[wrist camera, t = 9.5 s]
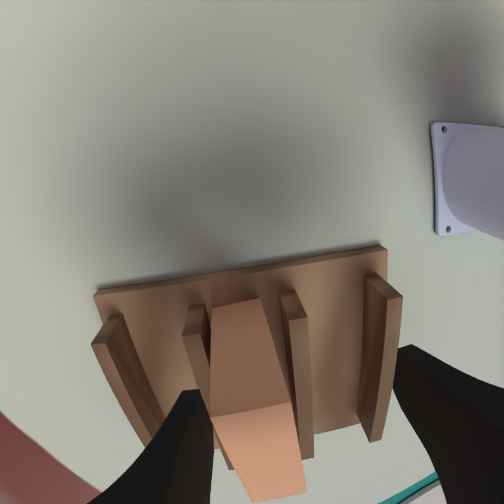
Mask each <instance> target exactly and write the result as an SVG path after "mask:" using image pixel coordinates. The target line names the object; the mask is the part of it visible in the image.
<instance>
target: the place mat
mask: <svg viewBox="0 0 504 504" xmlns="http://www.w3.org/2000/svg"><path fill="white" fill-rule="evenodd" d="M379 504H447V503H446V499H445V496H444V493H443V490H442V487H441V484H440V481H439V478H438V476H437V473H436V471H435V472H434V473H432V474H431V475H429V476H427V477H426V478H424V479H423V480H421V481H419V482H418V483H416V484H414V485H412V486H411V487H409V488H407V489H405V490H404V491H402V492H400V493H398V494H396V495H394V496H392V497H391V498H389V499H387V500H385V501H383V502H381V503H379Z"/></svg>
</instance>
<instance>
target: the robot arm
mask: <svg viewBox="0 0 504 504" xmlns="http://www.w3.org/2000/svg"><path fill="white" fill-rule="evenodd" d="M442 127H443V129H444V132H442ZM431 136H432V146H433V158H434V173H435V198H436V234H437V235H438V236H440V237H445V236H450V235H456V234H461V233H466V232H471V231H476V230H480V231H482V232H485V233H487V234H489V235H492V236H494V237H497V238H499V239H501V240H504V128H501V127H493V126H483V125H473V124H460V123H444V122H435V123H433V124H432V125H431ZM447 226H448V230H447V231H446V228H447ZM392 388H393V390H394V393H395V395H396V398H397V400H398V402H399V404H400V407H401V409H402V411H403V412H404V414H405V416H406V417H407V419H408V421H409V422H410V424H411V426H412V427H413V429H414V431H415V432H416V434H417V435H418V437H419V439H420V440H421V442H422V444H423V445H424V447H425V449H426V451H427V453H428V455H429V456H430V459H431V461H432V463H433V466H434V468H435V471H436V473H437V476H438V478H439V481H440V484H441V487H442V490H443V493H444V496H445V499H446V503H447V504H504V388H501V387H498V386H495V385H492V384H489V383H486V382H484V381H481V380H479V379H477V378H474V377H472V376H470V375H468V374H466V373H464V372H462V371H460V370H458V369H456V368H454V367H452V366H450V365H448V364H446V363H445V362H443V361H441V360H439V359H437V358H436V357H434V356H432V355H430V354H429V353H427V352H425V351H423V350H422V349H420V348H418V347H416V346H414V345H412V344H410V345H407V346H404V347H401V348H398V350H397V358H396V366H395V374H394V381H393V387H392ZM213 457H214V434H213V424H212V421H211V419H210V416H209V413H208V411H207V408H206V406H205V403H204V400H203V398H202V395H201V392H200V390H199V389H192V390H183V391H182V392H181V393H180V395H179V397H178V398H177V400H176V402H175V404H174V405H173V407H172V409H171V410H170V412H169V414H168V415H167V417H166V419H165V420H164V422H163V423H162V425H161V426H160V428H159V429H158V431H157V433H156V434H155V436H154V437H153V438H152V440H151V441H150V442H149V444H148V445H147V446H146V448H145V449H144V450H143V452H142V453H141V454H140V456H139V457H138V458H137V459H136V460H135V461H134V463H133V464H132V465H131V466H130V467H129V468H128V469H127V470H126V471H125V472H124V473H123V474H122V475H121V476H120V477H119V478H118V479H117V480H116V481H115V482H114V483H113V484H112V485H111V486H110V487H108V488H107V489H106V490H105V491H104V492H102V493H101V494H100V495H98V496H97V497H96V498H94V499H93V500H92V501H90V502H89V503H87V504H210V492H211V480H212V469H213Z"/></svg>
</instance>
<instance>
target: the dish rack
mask: <svg viewBox="0 0 504 504" xmlns="http://www.w3.org/2000/svg"><path fill="white" fill-rule="evenodd" d="M93 297H94V300H95V303H96V306H97V309H98V311H99V314H100V317H101V320H102V322H103V326H102V328H101V329H100V331H99V332H98V334H97V335H96V337H95V338H94V340H93V341H92V343H91V346H92V348H93V351H94V353H95V355H96V357H97V360H98V362H99V364H100V366H101V368H102V370H103V372H104V375H105V377H106V379H107V381H108V383H109V385H110V387H111V389H112V391H113V393H114V394H115V396H116V398H117V400H118V402H119V404H120V406H121V408H122V409H123V411H124V413H125V415H126V417H127V418H128V420H129V422H130V424H131V425H132V427H133V429H134V430H135V432H136V434H137V435H138V437H139V439H140V440H141V442H142V444H143V445H144V447H145V448H146V446H147V445H148V444H149V442H150V441H151V440H152V438H153V437H154V436H155V434H156V433H157V431H158V429H159V428H160V426H161V425H162V423H163V422H164V420H165V419H166V417H167V415H168V414H169V412H170V410H171V409H172V407H173V405H174V404H175V402H176V400H177V398H178V397H179V395H180V393H181V392H182V391H183V390H192V389H199V390H200V392H201V395H202V398H203V400H204V403H205V406H206V408H207V411H208V413H209V416H210V356H211V317H212V308H215V307H220V306H225V305H229V304H234V303H239V302H243V301H248V300H252V299H257V298H260V299H261V302H262V305H263V309H264V312H265V316H266V319H267V322H268V326H269V329H270V333H271V336H272V339H273V343H274V346H275V350H276V353H277V356H278V360H279V363H280V366H281V370H282V373H283V377H284V380H285V383H286V387H287V390H288V393H289V397H290V400H291V404H292V410H293V415H294V421H295V426H296V432H297V437H298V443H299V448H300V454H301V459H302V460H304V459H309V458H314V434H319V433H323V432H328V431H332V430H336V429H340V428H344V427H348V426H351V425H355V424H359V423H361V425H362V427H363V429H364V432H365V434H366V436H367V438H368V440H369V443H371V442H374V441H377V440H381V438H382V434H383V430H384V425H385V421H386V416H387V411H388V406H389V401H390V396H391V390H392V385H393V379H394V372H395V366H396V358H397V350H398V343H399V335H400V325H401V314H402V302H403V296H402V295H401V294H400V293H399V292H398V291H396V290H395V289H394V288H393V287H392V286H391V285H390V284H389V283H387V249H386V248H384V247H383V246H381V245H379V246H374V247H368V248H362V249H356V250H350V251H344V252H339V253H333V254H327V255H321V256H315V257H309V258H303V259H297V260H290V261H284V262H278V263H272V264H266V265H260V266H253V267H247V268H241V269H234V270H228V271H222V272H215V273H209V274H202V275H196V276H189V277H182V278H176V279H169V280H162V281H156V282H149V283H142V284H135V285H128V286H121V287H114V288H107V289H100V290H98V291H97V292H96V293H95V294H94V296H93ZM212 424H213V423H212ZM213 434H214V449H221V451H222V454H223V456H224V459H225V461H226V464H227V466H228V468H229V470H235V469H234V467H233V465H232V463H231V461H230V459H229V457H228V455H227V453H226V451H225V449H224V447H223V445H222V443H221V441H220V439H219V436H218V434H217V432H216V430H215V428H214V426H213Z"/></svg>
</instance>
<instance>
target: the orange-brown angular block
mask: <svg viewBox="0 0 504 504" xmlns="http://www.w3.org/2000/svg"><path fill="white" fill-rule="evenodd" d="M210 419H211V421H212V423H213V426H214V428H215V430H216V432H217V434H218V436H219V439H220V441H221V443H222V445H223V447H224V449H225V451H226V453H227V455H228V457H229V459H230V461H231V463H232V465H233V467H234V469H235V471H236V473H237V475H238V477H239V479H240V481H241V483H242V484H243V486H244V488H245V490H246V492H247V494H248V496H249V497H250V499H251V501H252V503H255V502H261V501H267V500H273V499H278V498H283V497H288V496H292V495H297V494H301V493H305V492H307V487H306V482H305V476H304V470H303V465H302V459H301V454H300V448H299V443H298V437H297V432H296V426H295V421H294V415H293V410H292V404H291V400H290V397H289V393H288V390H287V387H286V383H285V380H284V377H283V373H282V370H281V366H280V363H279V360H278V356H277V353H276V350H275V346H274V343H273V339H272V336H271V333H270V329H269V326H268V322H267V319H266V316H265V312H264V309H263V305H262V302H261V299H260V298H257V299H252V300H248V301H243V302H239V303H234V304H229V305H225V306H220V307H215V308H212V317H211V356H210Z"/></svg>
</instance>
